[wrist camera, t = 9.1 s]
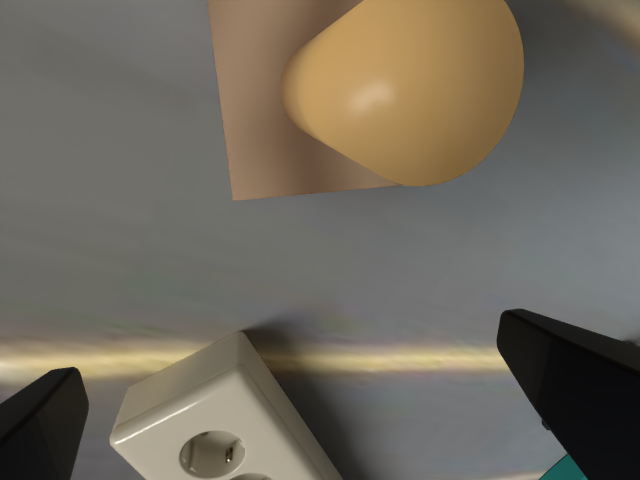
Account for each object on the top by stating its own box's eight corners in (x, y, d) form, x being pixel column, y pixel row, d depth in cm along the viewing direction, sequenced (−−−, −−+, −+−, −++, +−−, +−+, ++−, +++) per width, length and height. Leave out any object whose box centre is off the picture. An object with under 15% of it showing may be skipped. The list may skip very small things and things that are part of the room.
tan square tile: (417, -24, 17) (427, -31, 16) (409, 179, 20) (417, 183, 19) (205, -25, 15) (203, -32, 14) (233, 195, 19) (233, 200, 18)
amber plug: (370, 37, 16) (538, -33, 7) (370, 134, 18) (509, 178, 9) (276, 40, 16) (330, -35, 7) (284, 140, 17) (336, 194, 8)
